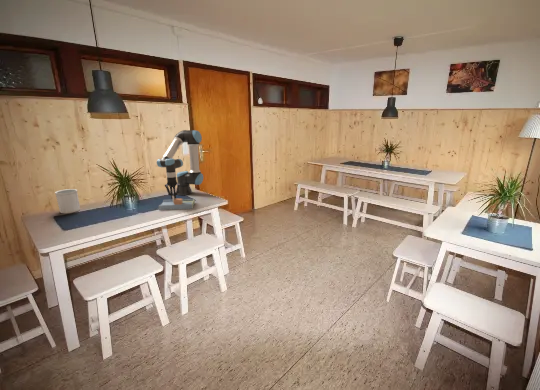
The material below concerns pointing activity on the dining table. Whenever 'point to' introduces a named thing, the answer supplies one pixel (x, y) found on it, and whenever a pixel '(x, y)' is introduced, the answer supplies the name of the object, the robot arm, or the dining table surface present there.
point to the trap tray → (170, 205)
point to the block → (178, 201)
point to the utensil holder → (68, 200)
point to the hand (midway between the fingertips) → (174, 202)
